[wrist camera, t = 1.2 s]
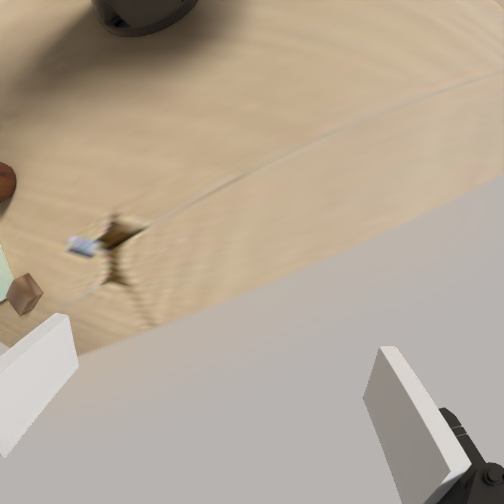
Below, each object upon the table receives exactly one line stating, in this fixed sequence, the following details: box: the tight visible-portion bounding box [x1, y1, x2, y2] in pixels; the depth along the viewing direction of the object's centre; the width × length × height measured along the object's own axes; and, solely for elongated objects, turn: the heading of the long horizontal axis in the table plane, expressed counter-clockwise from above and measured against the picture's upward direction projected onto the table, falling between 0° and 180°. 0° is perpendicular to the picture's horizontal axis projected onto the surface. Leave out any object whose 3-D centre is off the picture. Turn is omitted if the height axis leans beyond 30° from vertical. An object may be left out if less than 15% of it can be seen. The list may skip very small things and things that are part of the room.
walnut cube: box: [6, 273, 43, 316], centre depth 36 cm, size 4×4×4 cm
